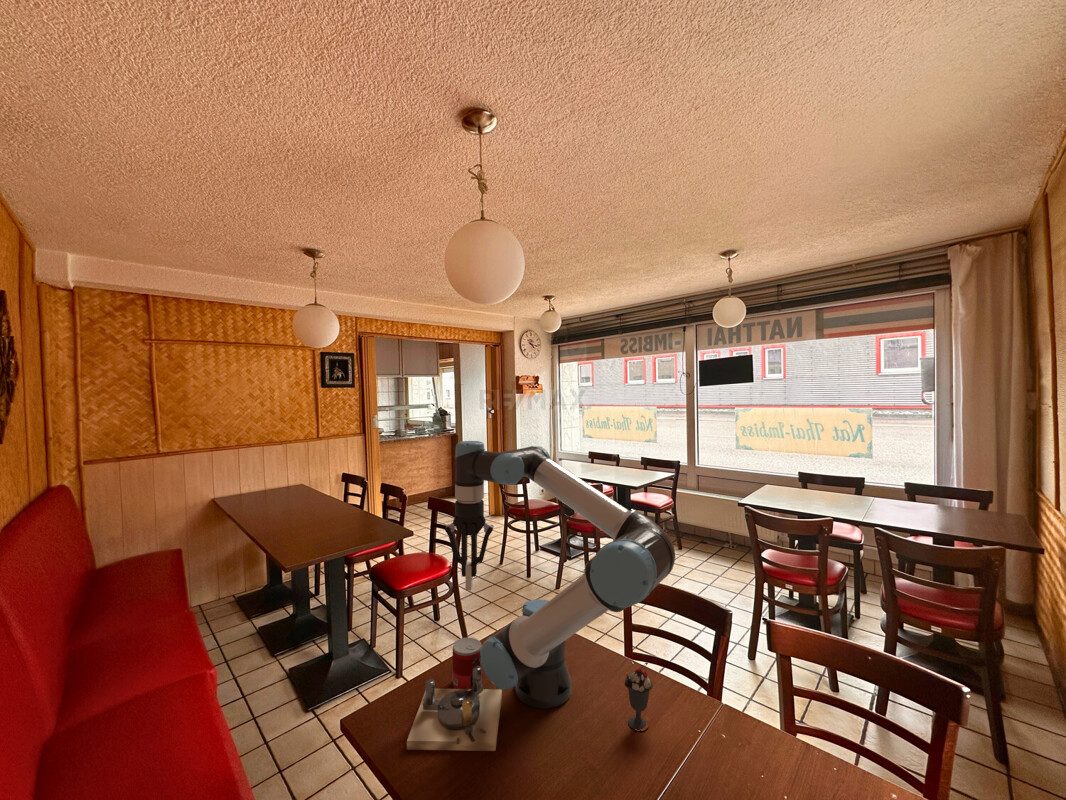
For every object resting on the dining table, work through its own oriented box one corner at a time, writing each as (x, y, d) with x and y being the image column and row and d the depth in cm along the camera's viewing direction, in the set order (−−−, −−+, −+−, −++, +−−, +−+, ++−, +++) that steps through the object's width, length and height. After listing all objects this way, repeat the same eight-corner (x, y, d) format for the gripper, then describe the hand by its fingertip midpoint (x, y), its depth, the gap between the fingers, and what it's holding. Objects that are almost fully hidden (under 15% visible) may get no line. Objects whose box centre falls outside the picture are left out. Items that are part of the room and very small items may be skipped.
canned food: (476, 695, 117) (476, 655, 117) (447, 691, 119) (448, 651, 118) (485, 677, 125) (485, 639, 124) (458, 673, 126) (458, 635, 126)
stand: (501, 697, 117) (501, 683, 117) (495, 753, 98) (495, 738, 98) (426, 695, 117) (426, 682, 117) (405, 752, 99) (405, 736, 99)
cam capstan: (421, 708, 109) (421, 680, 109) (481, 690, 116) (481, 663, 116) (435, 748, 97) (435, 716, 97) (500, 725, 104) (501, 695, 104)
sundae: (657, 723, 108) (658, 663, 107) (643, 739, 103) (644, 676, 103) (633, 710, 112) (634, 652, 112) (619, 724, 107) (620, 663, 107)
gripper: (495, 496, 120) (494, 582, 121) (447, 496, 121) (447, 581, 121) (492, 503, 113) (492, 595, 113) (441, 503, 113) (441, 594, 114)
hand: (469, 588), depth 117 cm, fingers closed
